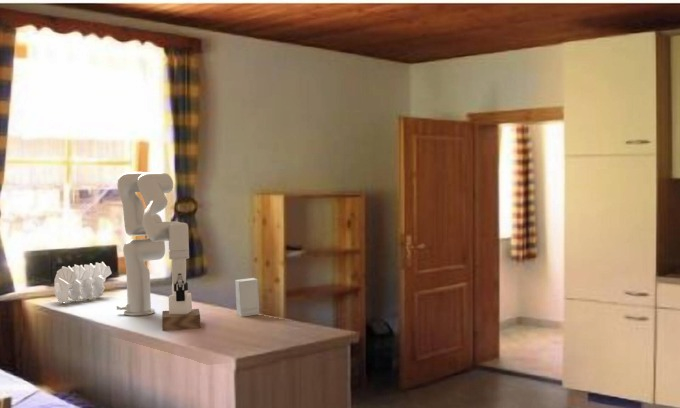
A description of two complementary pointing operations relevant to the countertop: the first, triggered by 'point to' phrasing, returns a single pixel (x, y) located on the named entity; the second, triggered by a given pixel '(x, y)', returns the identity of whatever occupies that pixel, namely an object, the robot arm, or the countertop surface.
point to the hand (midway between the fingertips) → (180, 299)
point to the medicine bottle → (180, 302)
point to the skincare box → (247, 297)
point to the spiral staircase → (80, 281)
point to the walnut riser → (181, 320)
